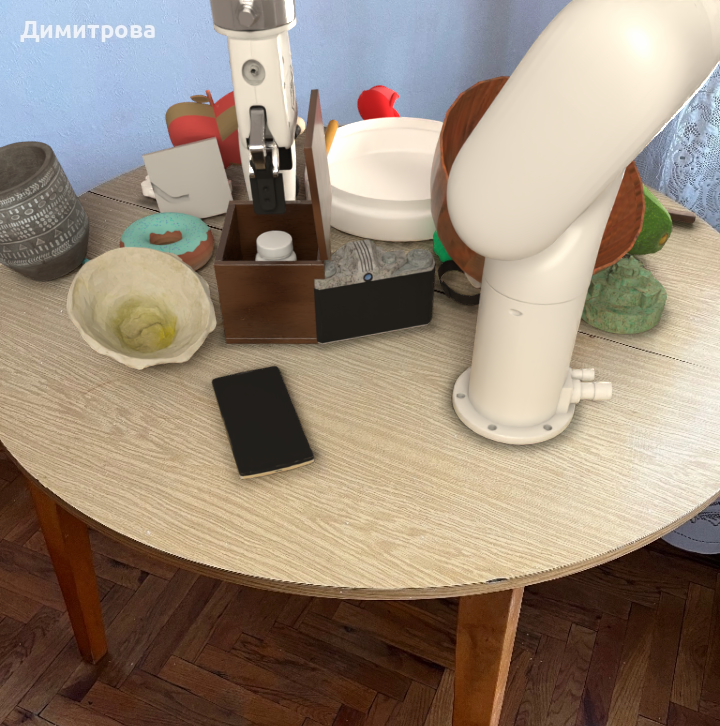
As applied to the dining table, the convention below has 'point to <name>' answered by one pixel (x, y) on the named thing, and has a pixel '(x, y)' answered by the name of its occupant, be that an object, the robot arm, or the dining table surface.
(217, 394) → the smartphone
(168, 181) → the grey square panel
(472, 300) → the watch
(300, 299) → the chest
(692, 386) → the dining table surface
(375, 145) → the plate
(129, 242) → the donut
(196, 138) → the decorative object
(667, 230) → the fruit
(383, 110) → the cap
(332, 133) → the fork
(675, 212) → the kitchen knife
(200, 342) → the bowl
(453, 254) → the bowl
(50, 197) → the planter
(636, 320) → the decorative artifact
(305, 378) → the dining table surface
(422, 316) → the camera
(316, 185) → the lid
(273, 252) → the supplement bottle
